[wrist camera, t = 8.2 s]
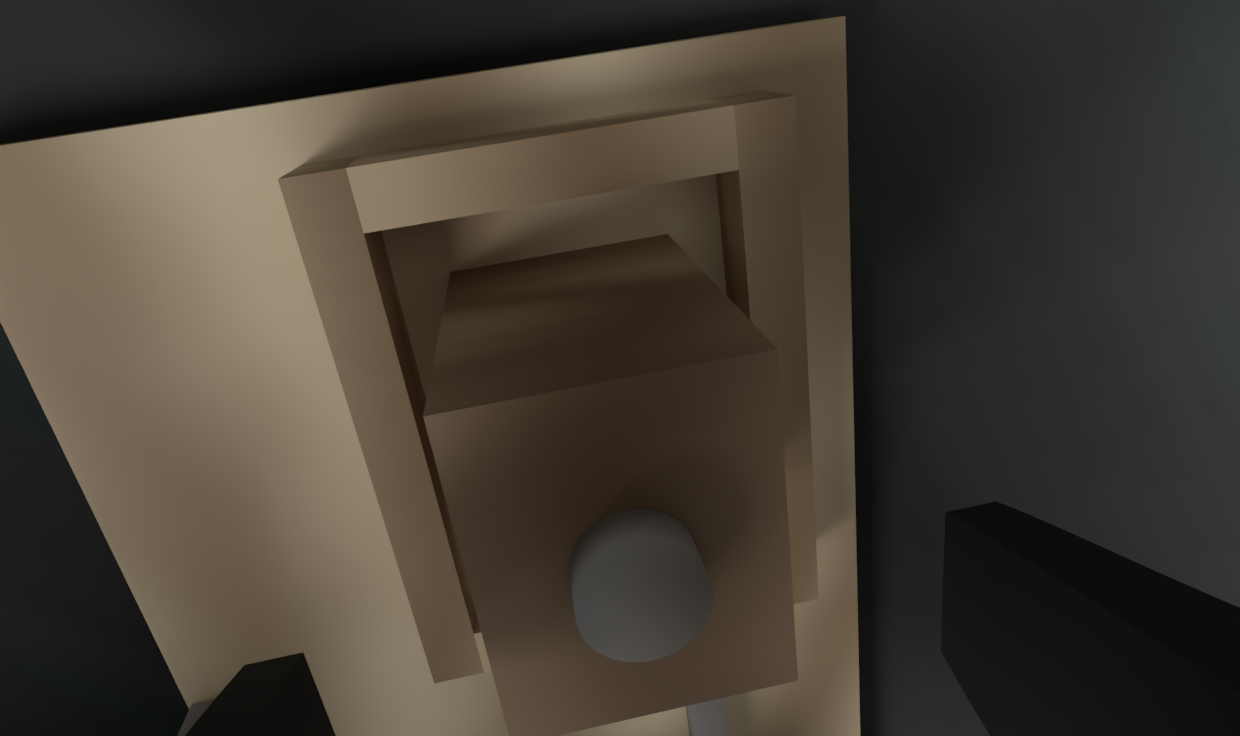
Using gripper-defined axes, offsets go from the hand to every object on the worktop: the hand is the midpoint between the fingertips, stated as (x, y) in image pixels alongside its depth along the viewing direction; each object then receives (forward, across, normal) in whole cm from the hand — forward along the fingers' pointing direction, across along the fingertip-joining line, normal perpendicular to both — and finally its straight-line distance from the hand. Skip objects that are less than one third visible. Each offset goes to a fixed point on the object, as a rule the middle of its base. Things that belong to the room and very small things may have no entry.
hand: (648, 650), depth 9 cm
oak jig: (+8, +2, +5) cm, 10 cm away
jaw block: (+7, 0, 0) cm, 7 cm away
